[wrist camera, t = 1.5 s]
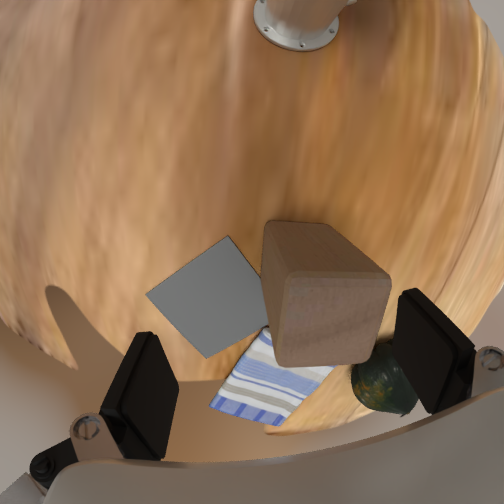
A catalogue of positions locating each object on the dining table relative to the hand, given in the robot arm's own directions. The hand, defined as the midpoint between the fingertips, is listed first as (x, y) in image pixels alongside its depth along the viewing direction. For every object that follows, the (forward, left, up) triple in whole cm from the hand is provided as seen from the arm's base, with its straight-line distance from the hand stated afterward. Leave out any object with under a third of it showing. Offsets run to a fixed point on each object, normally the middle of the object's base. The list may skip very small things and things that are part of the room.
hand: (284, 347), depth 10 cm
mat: (+14, +10, -32) cm, 36 cm away
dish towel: (+16, +30, -32) cm, 47 cm away
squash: (-4, +40, -32) cm, 51 cm away
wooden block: (-1, +10, -32) cm, 33 cm away
